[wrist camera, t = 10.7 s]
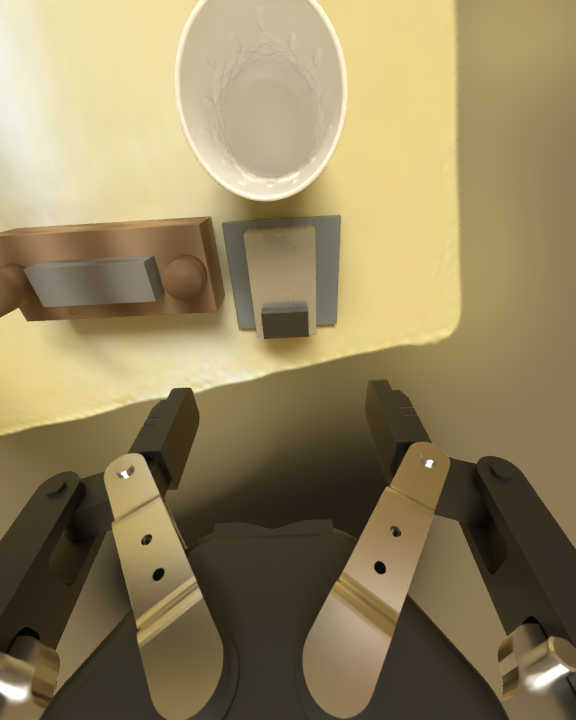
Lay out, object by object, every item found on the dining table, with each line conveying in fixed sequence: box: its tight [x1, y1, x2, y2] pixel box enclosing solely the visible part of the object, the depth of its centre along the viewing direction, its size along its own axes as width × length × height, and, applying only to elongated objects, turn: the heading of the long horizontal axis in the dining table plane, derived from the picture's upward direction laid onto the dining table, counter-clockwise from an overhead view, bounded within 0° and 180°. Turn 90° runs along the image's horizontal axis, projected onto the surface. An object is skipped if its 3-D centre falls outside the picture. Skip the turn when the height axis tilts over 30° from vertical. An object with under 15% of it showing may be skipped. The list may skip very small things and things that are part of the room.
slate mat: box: [222, 215, 341, 329], centre depth 28 cm, size 10×10×1 cm
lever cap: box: [244, 224, 316, 339], centre depth 26 cm, size 9×6×4 cm, turn 4°
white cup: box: [174, 0, 348, 201], centre depth 18 cm, size 8×8×10 cm
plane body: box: [0, 217, 225, 321], centre depth 24 cm, size 17×7×8 cm, turn 93°
